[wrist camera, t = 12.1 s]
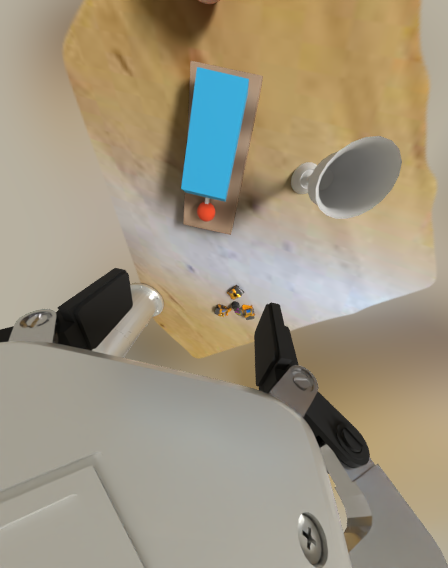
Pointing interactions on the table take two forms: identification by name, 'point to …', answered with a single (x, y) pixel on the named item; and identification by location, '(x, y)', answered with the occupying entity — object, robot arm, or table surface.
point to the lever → (213, 136)
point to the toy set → (236, 305)
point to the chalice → (351, 177)
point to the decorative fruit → (209, 1)
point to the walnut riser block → (228, 209)
